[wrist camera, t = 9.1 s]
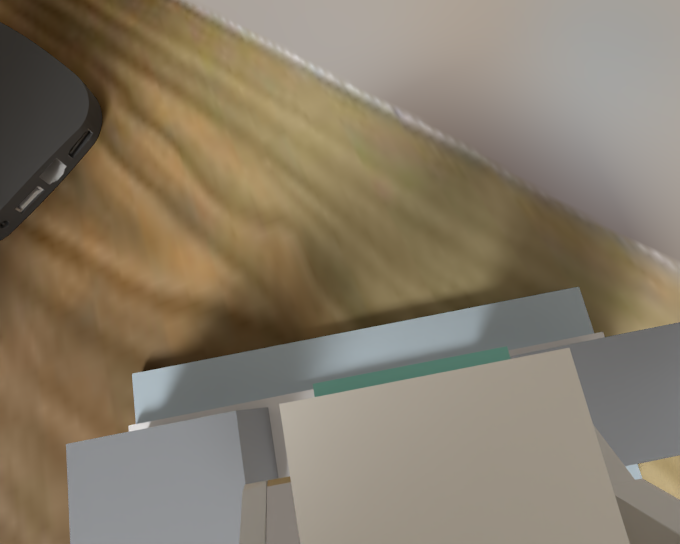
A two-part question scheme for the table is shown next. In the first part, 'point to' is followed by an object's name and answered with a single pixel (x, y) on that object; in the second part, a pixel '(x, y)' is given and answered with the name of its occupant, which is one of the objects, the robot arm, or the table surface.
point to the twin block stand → (297, 384)
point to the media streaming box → (38, 125)
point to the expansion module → (451, 456)
